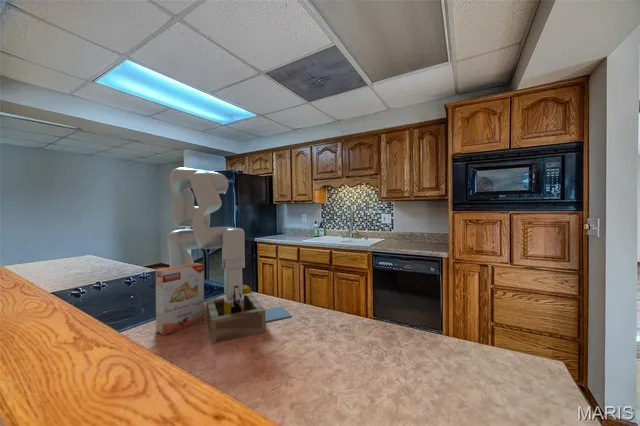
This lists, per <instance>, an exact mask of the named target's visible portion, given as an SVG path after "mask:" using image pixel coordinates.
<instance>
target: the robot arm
mask: <svg viewBox="0 0 640 426" xmlns="http://www.w3.org/2000/svg"><path fill="white" fill-rule="evenodd" d="M169 186H170V189H171V193H172V206H171V207H172V211H171V212H172V213H171V221H172V222H171V223H172V224H173V225H174V226H175V227H178V228H186V229H175V230H173V231H170V232H169V233H168V234H167V237H166V242H167V247H168V248H167V249H168V254H169V267H173V266H180V265H186V264H192V263H194V258H193V256H192V255H191V254H190V252H189V251H191V250H197V249H203V250H209V249H218V248H221V261H222V262H221V268H222V270H224V285H223V290H224V292H223V293H224V295H225V296H226V298H227V299H228V300H229V299H230V298H231V301H232V307H231V314H234V313H239V312H241V301H240V298H241V297H242V293H243V285H244V284H243V269H244V268H246V266H245V265H246V264H245V263H246V261H245V260H246V257H245V256H246V255H245V254H246V253H245V252H246V251H245V245H246V244H245V242H246V241H245V231H244V229H243V228H241V227H240V228H239V227H233V226H213V227H211V214H212V213H214V212H217V210H219V209H220V208H221V207H222V204H223V203H222V199H221V197H220V194H224V193H227V191H228V188H229V181H228V179H227V177H226V176H225V174H223V173H220V172H215V171H212V170H205V169H196V168H189V167H177V168H174V169H172V171H171V172H170V175H169ZM191 189H192V190H191ZM192 191H193V192H192ZM195 200H196V203H197V206H196V205H195ZM190 227H191V228H190ZM189 228H190V229H189ZM225 296H224V297H225ZM233 296H235V297H233ZM234 300H235V301H234Z"/></svg>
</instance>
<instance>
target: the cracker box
mask: <svg viewBox="0 0 640 426" xmlns="http://www.w3.org/2000/svg"><path fill="white" fill-rule="evenodd" d="M204 321H205V265H204V264H203V263H198V262H193V263H192V264H186V265H180V266H173V267H170V266H169V267H161V268H156V269H155V329H156V332H157V333H159V334H160V335H161V336H165V335H168V334H170V333H171V334H172V333H173V332H176V331H179V330H182V329H185V328H188V327H191V326H194V325H197V324H199V323H202V322H204Z"/></svg>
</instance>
